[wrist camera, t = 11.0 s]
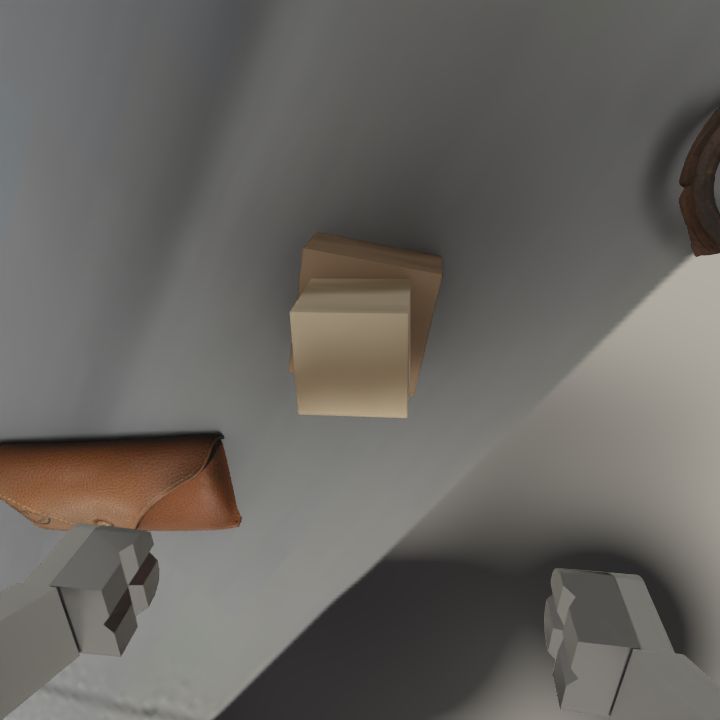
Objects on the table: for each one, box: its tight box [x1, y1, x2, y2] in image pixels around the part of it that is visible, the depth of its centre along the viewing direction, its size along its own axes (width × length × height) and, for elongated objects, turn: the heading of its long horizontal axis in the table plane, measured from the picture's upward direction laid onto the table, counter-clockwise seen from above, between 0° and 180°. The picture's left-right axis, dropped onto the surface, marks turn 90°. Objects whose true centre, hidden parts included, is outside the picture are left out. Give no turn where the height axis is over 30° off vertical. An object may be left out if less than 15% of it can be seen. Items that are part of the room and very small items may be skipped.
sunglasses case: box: [0, 434, 242, 531], centre depth 39 cm, size 18×7×7 cm, turn 97°
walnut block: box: [288, 232, 443, 397], centre depth 30 cm, size 7×7×4 cm
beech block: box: [290, 278, 411, 418], centre depth 26 cm, size 5×5×5 cm
